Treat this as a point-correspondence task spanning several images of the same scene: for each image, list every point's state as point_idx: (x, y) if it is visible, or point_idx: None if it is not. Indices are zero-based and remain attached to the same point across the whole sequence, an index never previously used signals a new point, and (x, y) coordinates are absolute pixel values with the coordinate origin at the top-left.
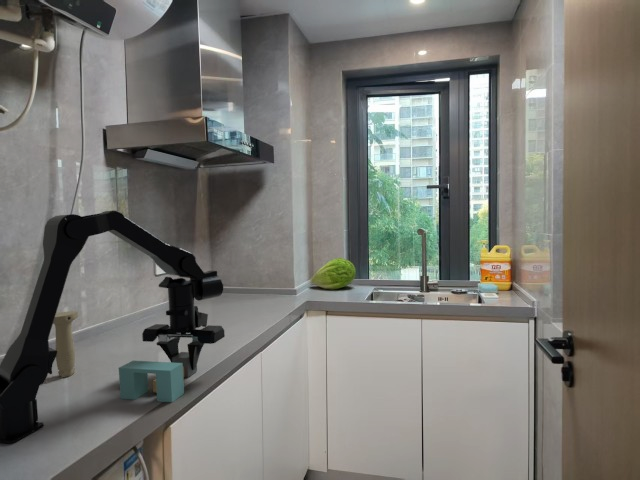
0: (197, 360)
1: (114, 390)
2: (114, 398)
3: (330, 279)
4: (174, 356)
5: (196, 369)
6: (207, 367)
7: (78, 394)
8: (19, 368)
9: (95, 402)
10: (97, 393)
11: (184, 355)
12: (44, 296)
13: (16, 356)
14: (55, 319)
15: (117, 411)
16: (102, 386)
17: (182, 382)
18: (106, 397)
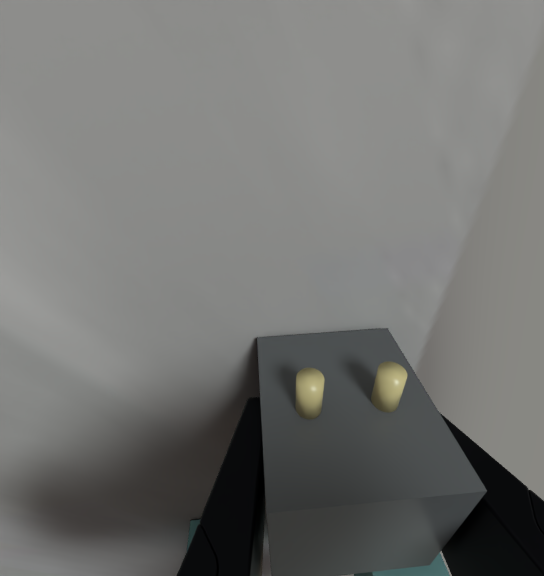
0: (464, 441)
1: (108, 535)
2: (179, 554)
3: None
4: (282, 573)
5: (391, 345)
6: (446, 228)
7: (9, 569)
8: None
9: (145, 572)
10: (71, 554)
11: (373, 547)
12: None
13: None
14: None
15: (265, 573)
16: (6, 532)
17: (438, 559)
18: (143, 557)
